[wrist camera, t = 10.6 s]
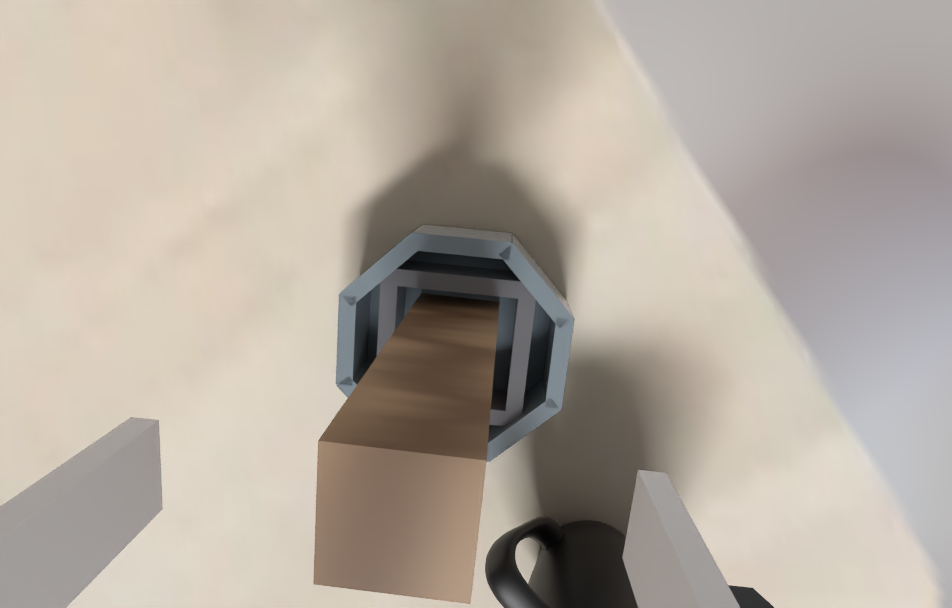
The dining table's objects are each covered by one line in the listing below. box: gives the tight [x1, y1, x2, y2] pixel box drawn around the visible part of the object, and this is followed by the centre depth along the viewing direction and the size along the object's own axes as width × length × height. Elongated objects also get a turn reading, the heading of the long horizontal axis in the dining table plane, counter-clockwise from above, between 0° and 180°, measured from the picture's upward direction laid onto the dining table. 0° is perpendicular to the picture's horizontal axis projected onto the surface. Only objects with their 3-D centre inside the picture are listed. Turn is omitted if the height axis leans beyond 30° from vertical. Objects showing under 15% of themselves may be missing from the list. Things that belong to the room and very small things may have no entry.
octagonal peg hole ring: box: [336, 224, 574, 462], centre depth 28 cm, size 11×11×4 cm
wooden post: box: [314, 293, 500, 604], centre depth 22 cm, size 4×4×16 cm
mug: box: [485, 517, 638, 608], centre depth 28 cm, size 8×12×10 cm
